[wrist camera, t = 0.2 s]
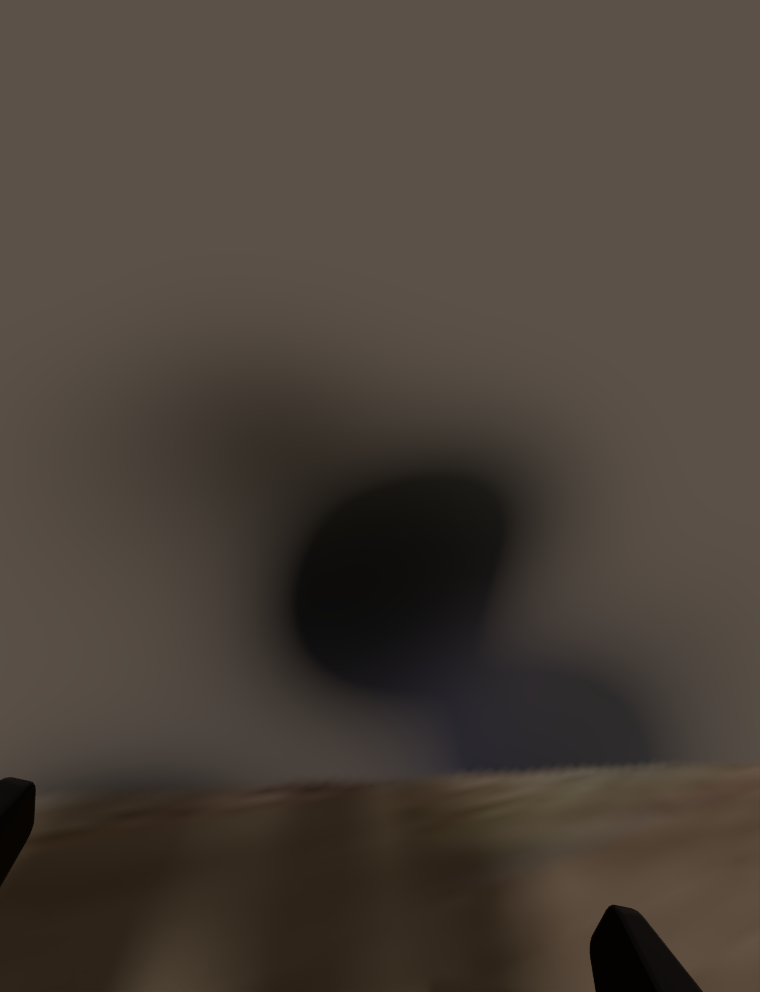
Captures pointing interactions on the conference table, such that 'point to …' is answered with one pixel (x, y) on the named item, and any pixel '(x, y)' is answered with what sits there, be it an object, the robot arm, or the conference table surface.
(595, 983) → the robot arm
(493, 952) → the conference table surface
